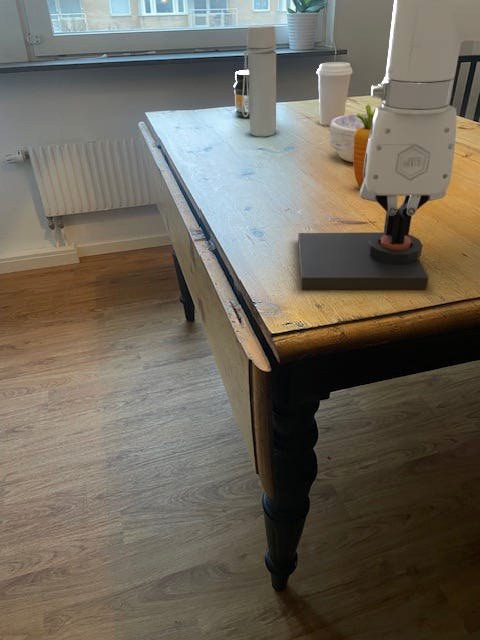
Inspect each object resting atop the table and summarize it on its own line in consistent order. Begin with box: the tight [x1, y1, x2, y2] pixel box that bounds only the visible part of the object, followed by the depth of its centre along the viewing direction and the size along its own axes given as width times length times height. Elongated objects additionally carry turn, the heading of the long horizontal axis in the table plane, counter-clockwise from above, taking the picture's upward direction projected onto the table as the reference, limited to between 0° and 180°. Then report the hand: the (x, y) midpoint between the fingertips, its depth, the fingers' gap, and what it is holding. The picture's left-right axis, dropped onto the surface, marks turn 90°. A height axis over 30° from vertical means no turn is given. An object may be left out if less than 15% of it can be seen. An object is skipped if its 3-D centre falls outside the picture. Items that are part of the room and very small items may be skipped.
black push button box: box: [297, 231, 429, 291], centre depth 70 cm, size 16×14×4 cm
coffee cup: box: [316, 61, 353, 127], centre depth 138 cm, size 10×10×15 cm
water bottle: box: [242, 24, 278, 138], centre depth 127 cm, size 9×8×25 cm
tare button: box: [380, 235, 411, 250], centre depth 69 cm, size 4×4×2 cm
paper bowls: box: [329, 113, 368, 163], centre depth 111 cm, size 15×15×8 cm
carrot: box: [352, 104, 376, 189], centre depth 92 cm, size 5×5×15 cm
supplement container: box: [233, 69, 250, 119], centre depth 151 cm, size 10×10×12 cm
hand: (395, 239), depth 68 cm, fingers closed
